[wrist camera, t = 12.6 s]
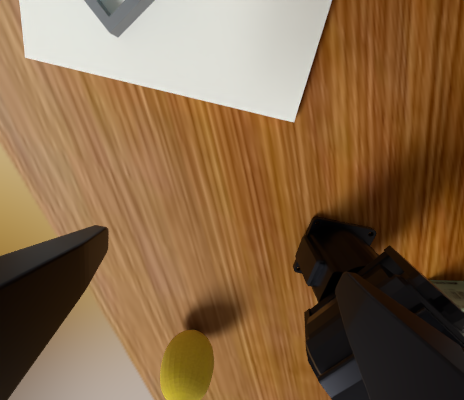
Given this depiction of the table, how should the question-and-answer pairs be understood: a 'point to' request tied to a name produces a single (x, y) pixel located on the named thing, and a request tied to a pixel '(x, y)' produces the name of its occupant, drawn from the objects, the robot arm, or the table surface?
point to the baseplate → (189, 47)
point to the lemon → (187, 366)
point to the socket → (119, 14)
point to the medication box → (452, 290)
